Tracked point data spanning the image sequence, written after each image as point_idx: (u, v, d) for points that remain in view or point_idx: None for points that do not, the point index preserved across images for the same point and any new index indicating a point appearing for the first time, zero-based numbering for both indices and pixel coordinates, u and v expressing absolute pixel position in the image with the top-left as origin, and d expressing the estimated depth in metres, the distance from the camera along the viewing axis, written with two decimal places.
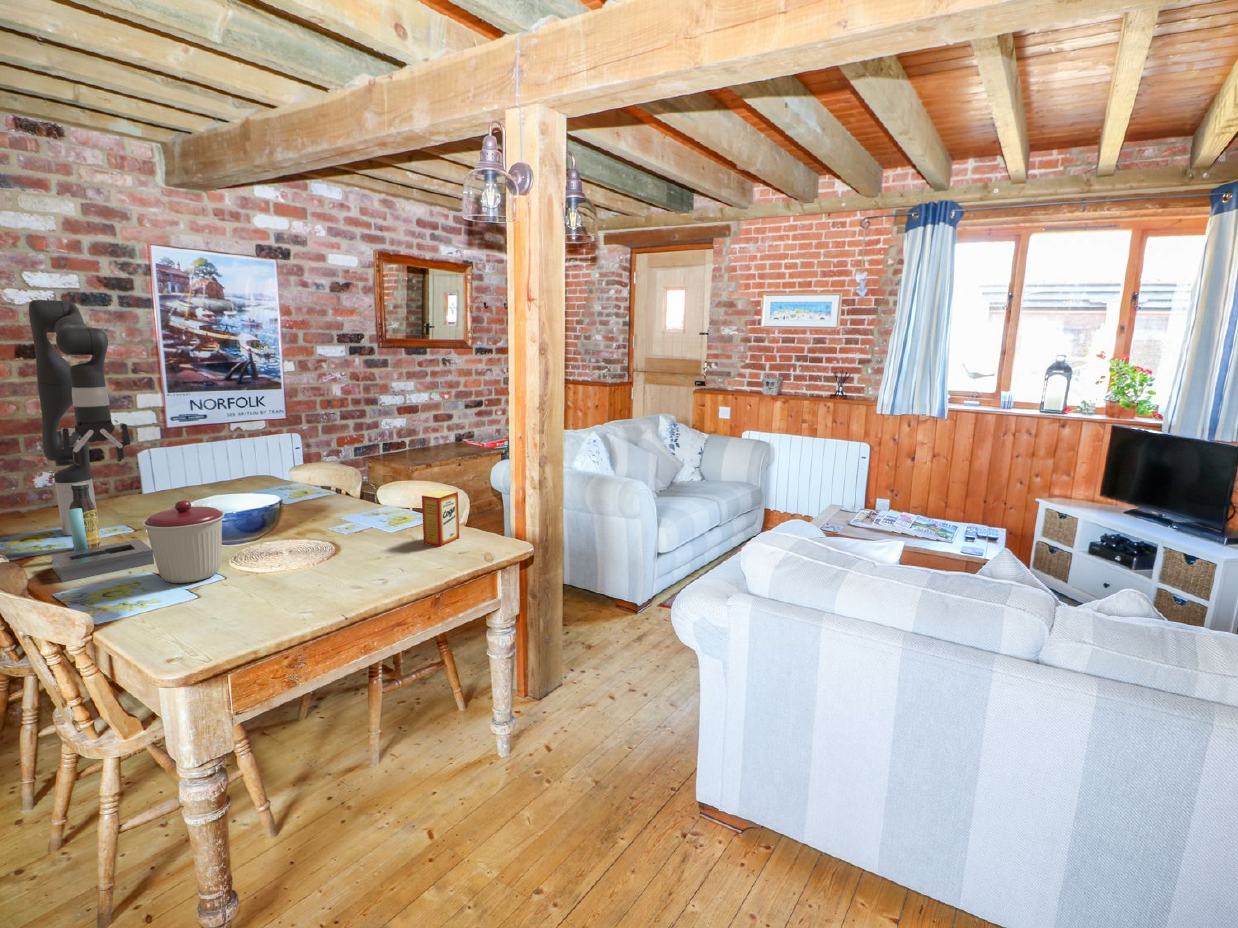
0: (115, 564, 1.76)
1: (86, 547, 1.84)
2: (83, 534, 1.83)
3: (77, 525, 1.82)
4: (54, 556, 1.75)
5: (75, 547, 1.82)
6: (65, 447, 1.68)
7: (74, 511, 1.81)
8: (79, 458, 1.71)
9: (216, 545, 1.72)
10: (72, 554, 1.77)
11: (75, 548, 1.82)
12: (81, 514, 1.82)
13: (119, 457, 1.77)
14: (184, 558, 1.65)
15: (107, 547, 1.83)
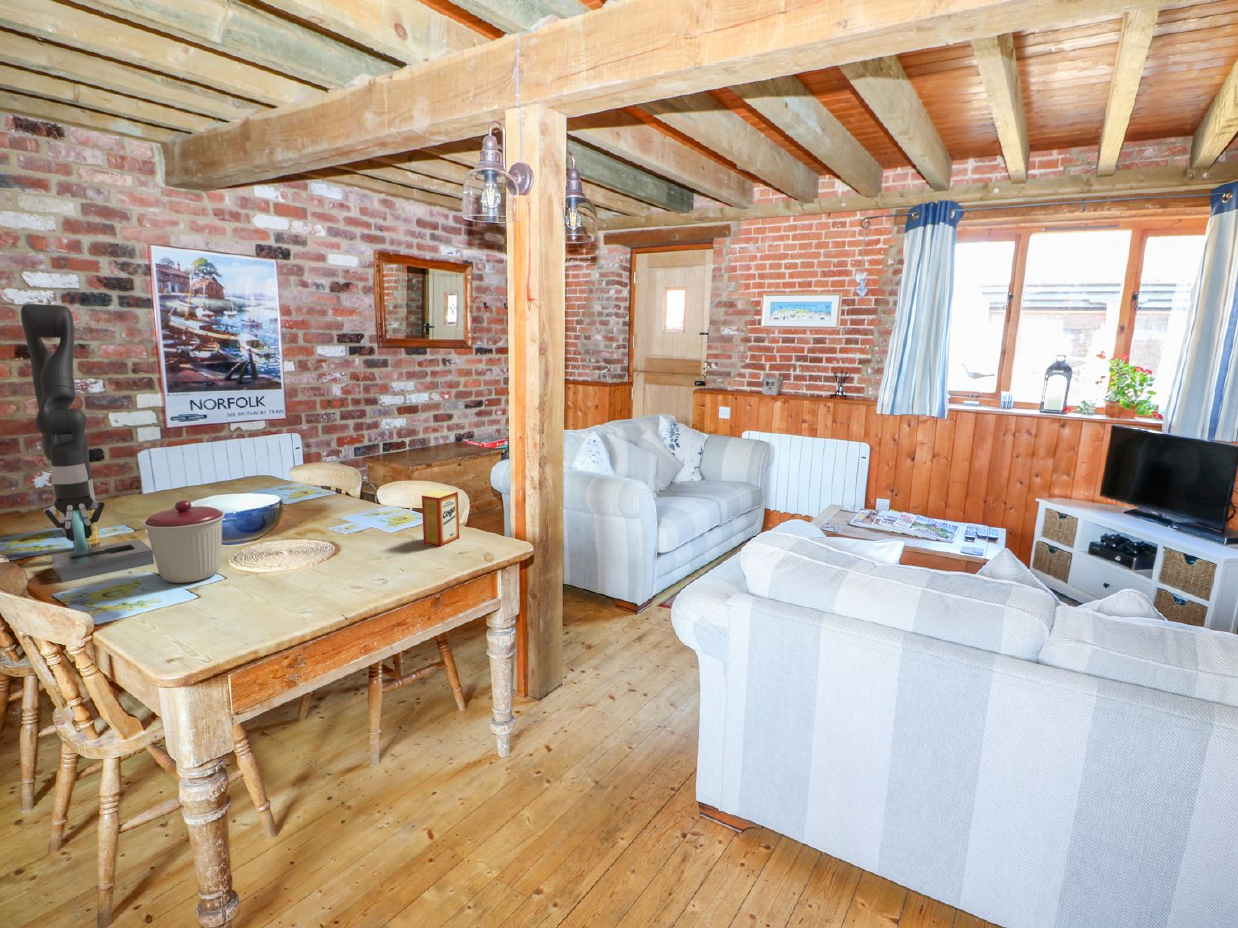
0: (115, 564, 1.76)
1: (86, 547, 1.84)
2: (83, 534, 1.83)
3: (77, 525, 1.82)
4: (54, 556, 1.75)
5: (75, 547, 1.82)
6: (57, 525, 1.78)
7: (74, 511, 1.81)
8: (71, 534, 1.81)
9: (216, 545, 1.72)
10: (72, 554, 1.77)
11: (75, 548, 1.82)
12: (81, 514, 1.82)
13: (87, 534, 1.84)
14: (184, 558, 1.65)
15: (107, 547, 1.83)
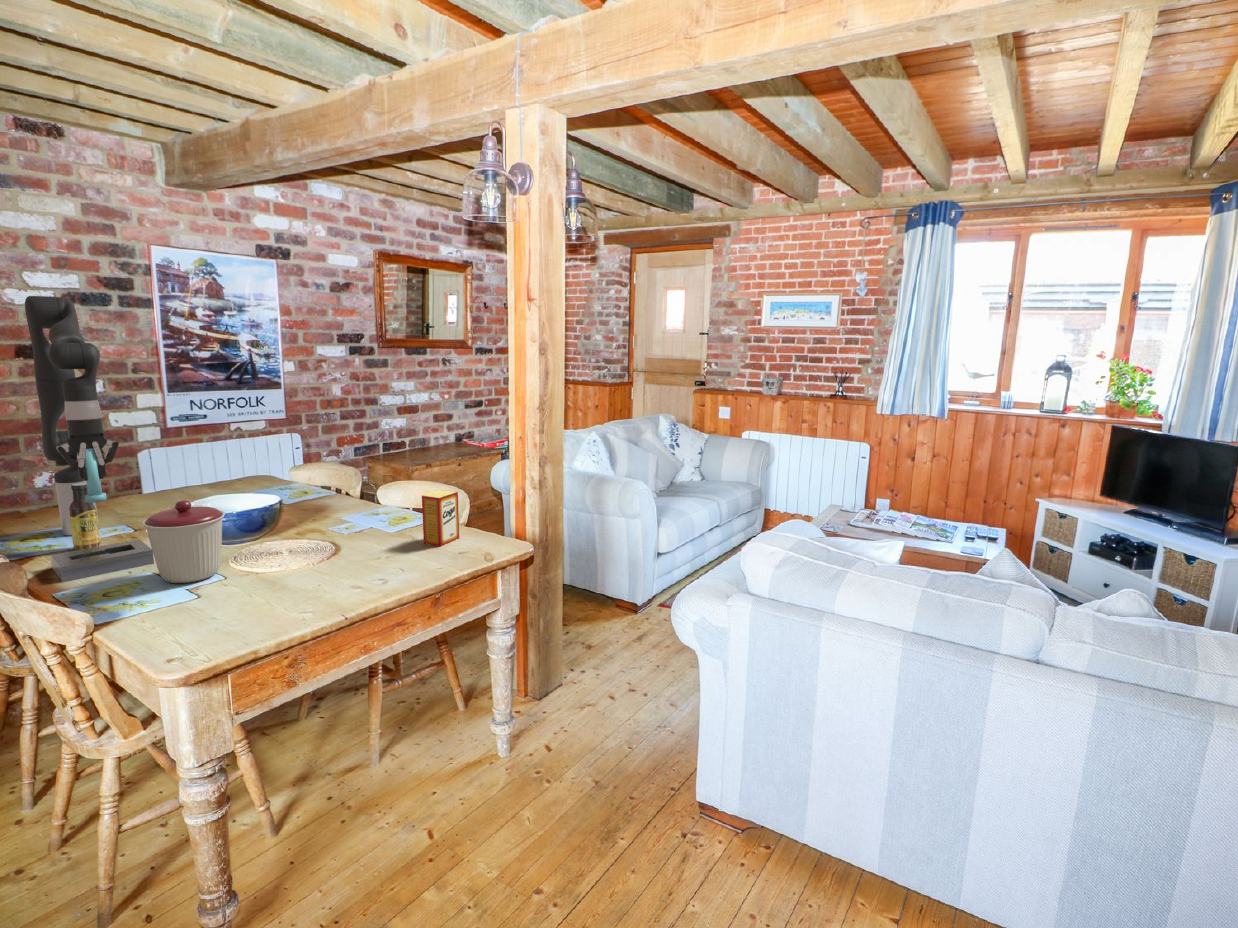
0: (115, 564, 1.76)
1: (100, 488, 1.79)
2: (97, 474, 1.78)
3: (91, 464, 1.76)
4: (54, 556, 1.75)
5: (88, 487, 1.77)
6: (70, 462, 1.73)
7: (87, 449, 1.75)
8: (84, 473, 1.76)
9: (216, 545, 1.72)
10: (72, 554, 1.77)
11: (88, 488, 1.77)
12: None
13: (101, 474, 1.78)
14: (184, 558, 1.65)
15: (107, 547, 1.83)
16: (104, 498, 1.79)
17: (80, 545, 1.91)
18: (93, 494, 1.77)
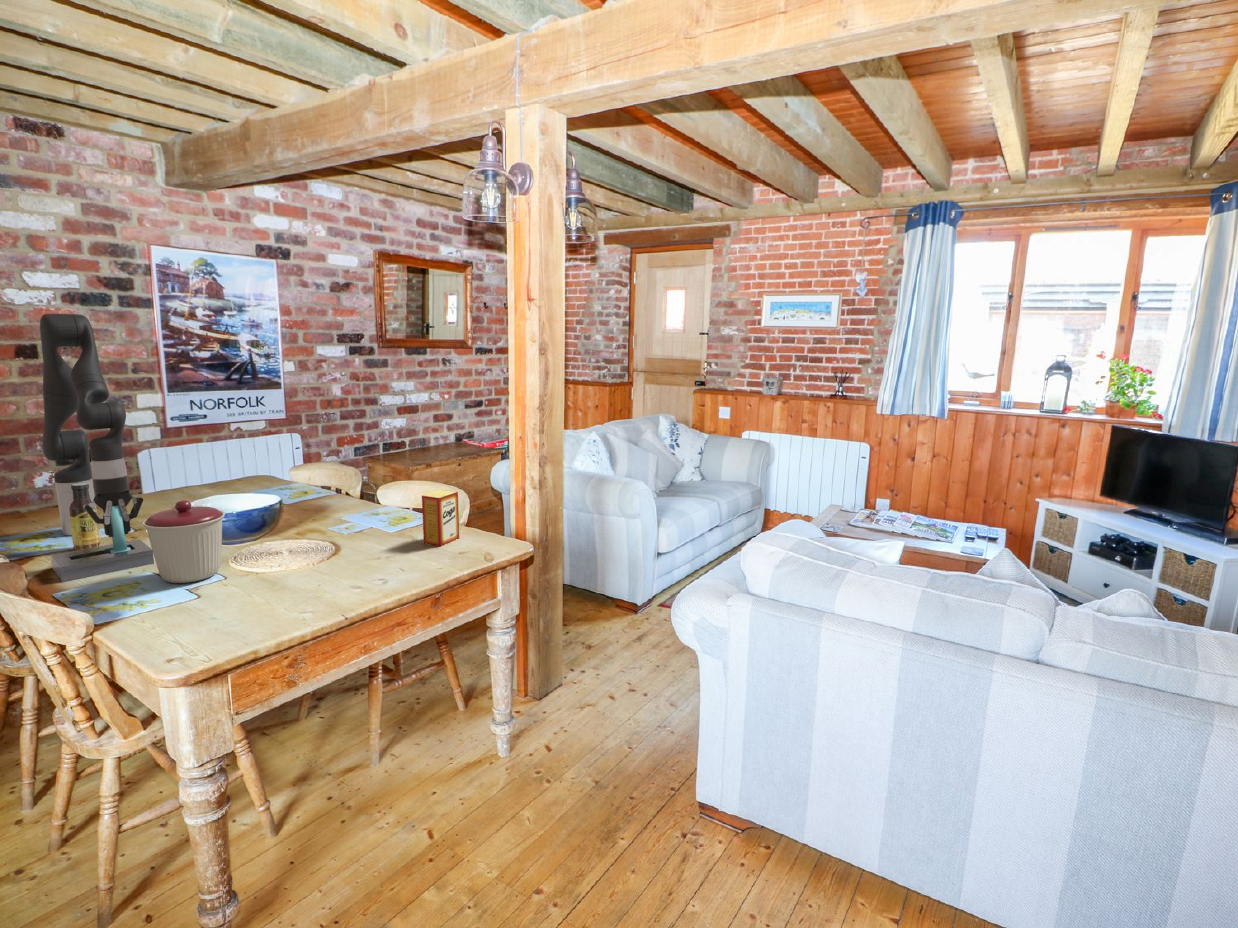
0: (115, 564, 1.76)
1: (125, 543, 1.82)
2: (122, 530, 1.81)
3: (116, 521, 1.79)
4: (54, 556, 1.75)
5: (114, 543, 1.80)
6: (97, 520, 1.76)
7: (113, 507, 1.78)
8: (110, 530, 1.79)
9: (216, 545, 1.72)
10: (72, 554, 1.77)
11: (114, 544, 1.80)
12: (120, 510, 1.80)
13: (126, 530, 1.81)
14: (184, 558, 1.65)
15: (107, 547, 1.83)
16: None
17: (80, 545, 1.91)
18: (119, 550, 1.80)
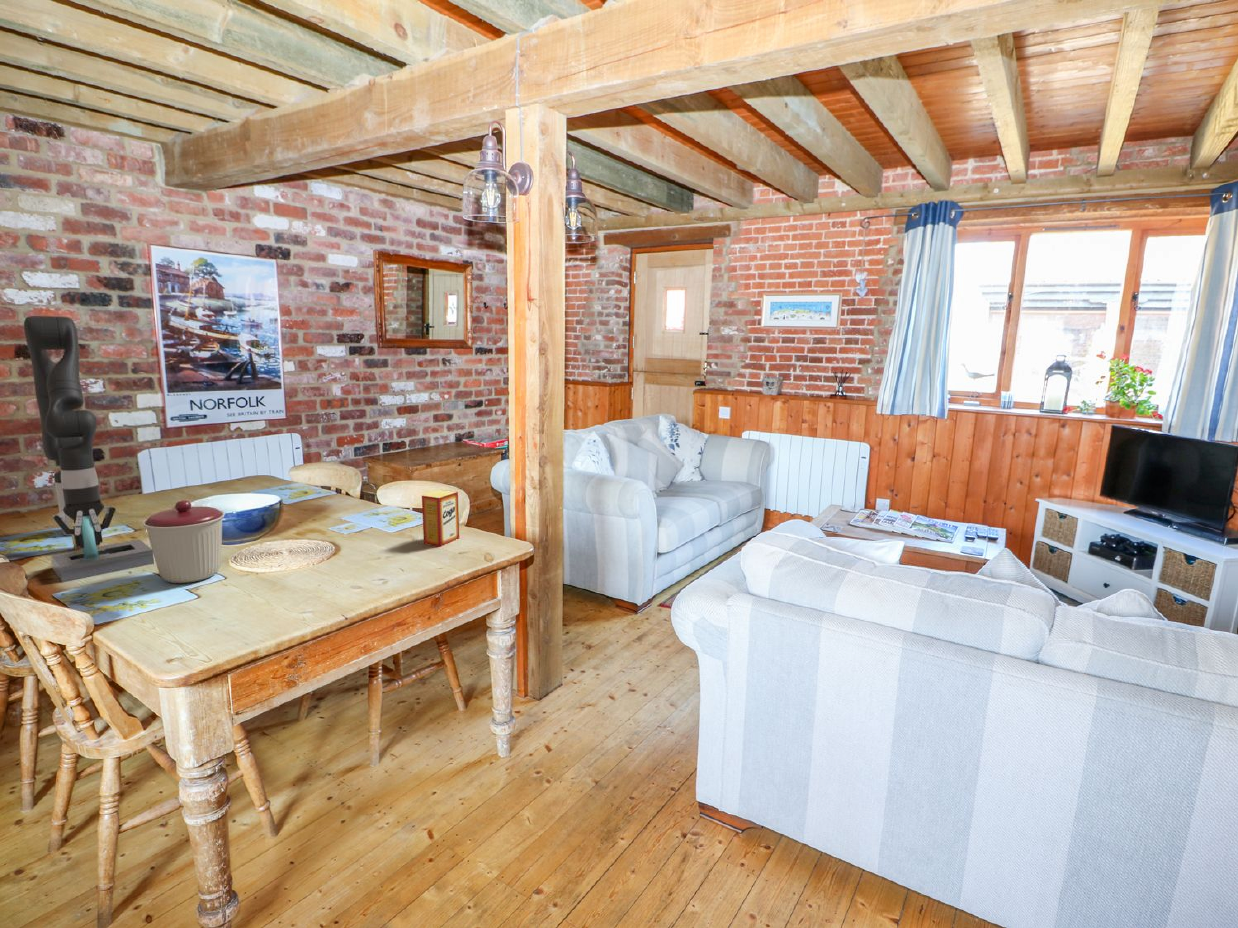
0: (115, 564, 1.76)
1: (96, 554, 1.77)
2: (93, 541, 1.76)
3: (87, 532, 1.75)
4: (54, 556, 1.75)
5: (85, 554, 1.75)
6: (67, 531, 1.72)
7: (84, 517, 1.74)
8: (80, 541, 1.74)
9: (216, 545, 1.72)
10: (72, 554, 1.77)
11: (85, 555, 1.76)
12: (91, 520, 1.75)
13: (97, 541, 1.77)
14: (184, 558, 1.65)
15: (107, 547, 1.83)
16: None
17: None
18: None
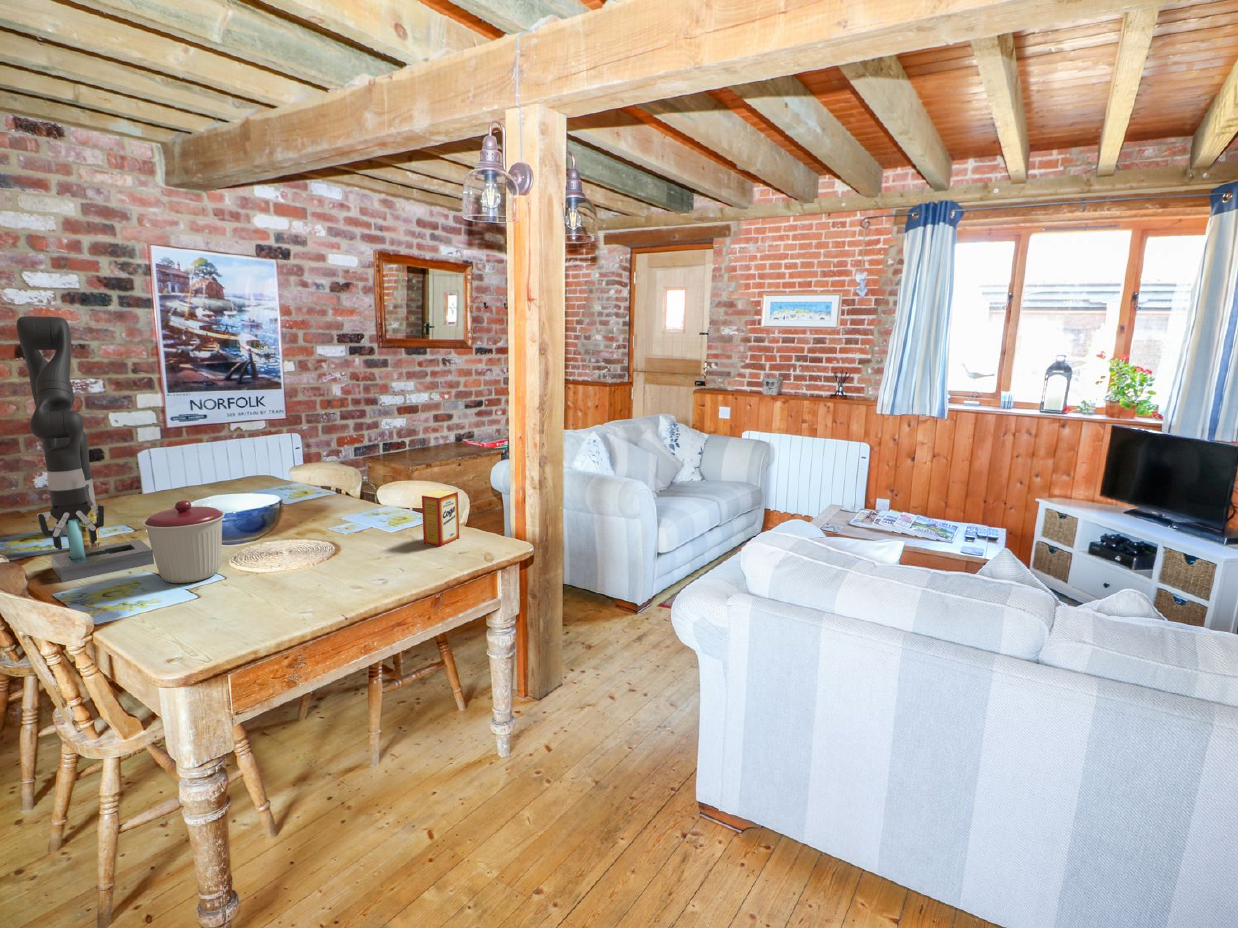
0: (115, 564, 1.76)
1: None
2: (81, 544, 1.74)
3: (74, 535, 1.73)
4: (54, 556, 1.75)
5: (72, 558, 1.74)
6: (45, 532, 1.68)
7: (71, 520, 1.72)
8: (59, 542, 1.71)
9: (216, 545, 1.72)
10: None
11: (72, 559, 1.74)
12: (79, 523, 1.73)
13: (92, 539, 1.76)
14: (184, 558, 1.65)
15: (107, 547, 1.83)
16: None
17: None
18: None
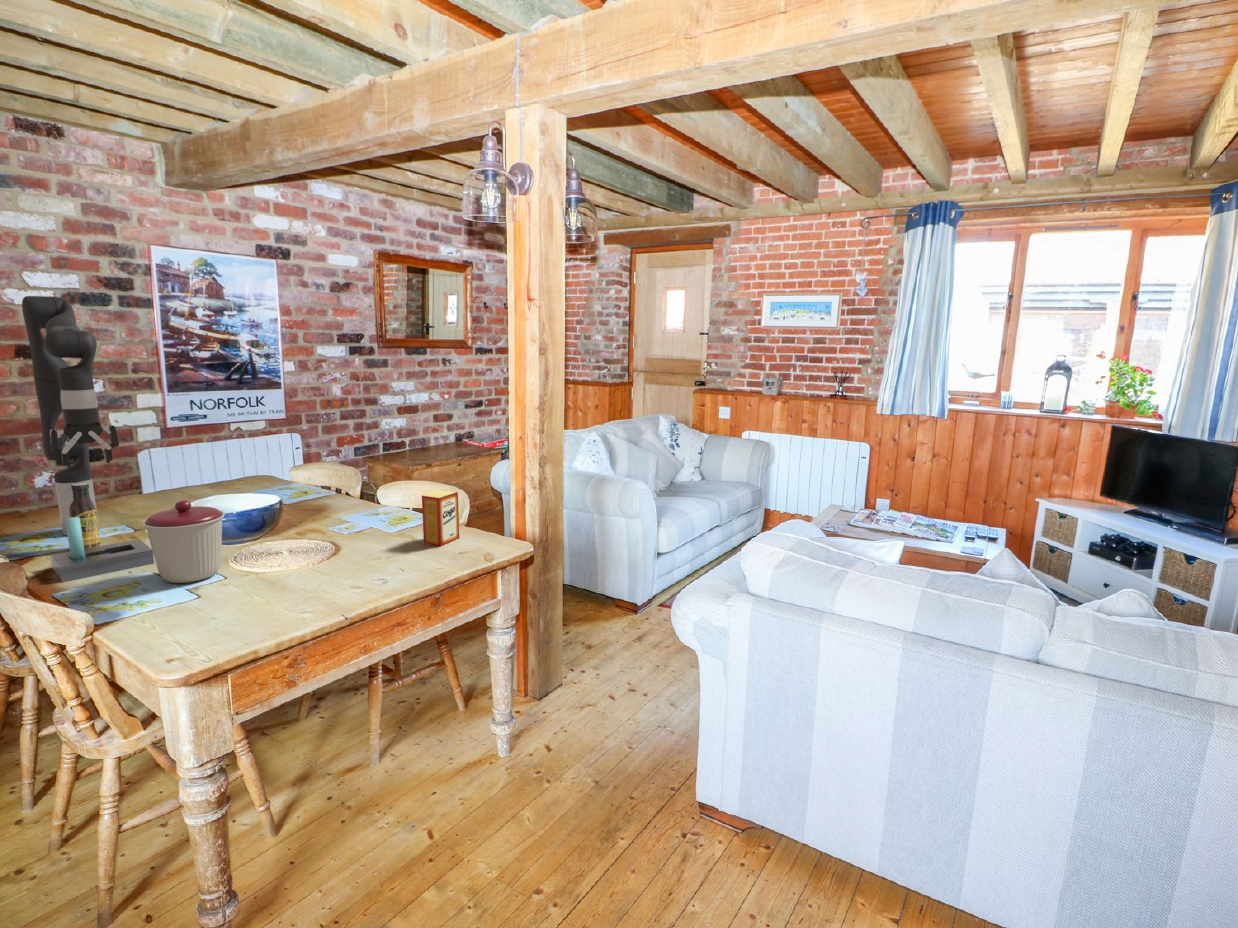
0: (115, 564, 1.76)
1: None
2: (81, 544, 1.74)
3: (75, 535, 1.73)
4: (54, 556, 1.75)
5: (72, 558, 1.74)
6: (53, 449, 1.70)
7: (71, 520, 1.72)
8: (67, 460, 1.73)
9: (216, 545, 1.72)
10: None
11: (72, 559, 1.74)
12: (79, 523, 1.73)
13: (108, 459, 1.79)
14: (184, 558, 1.65)
15: (107, 547, 1.83)
16: None
17: None
18: None
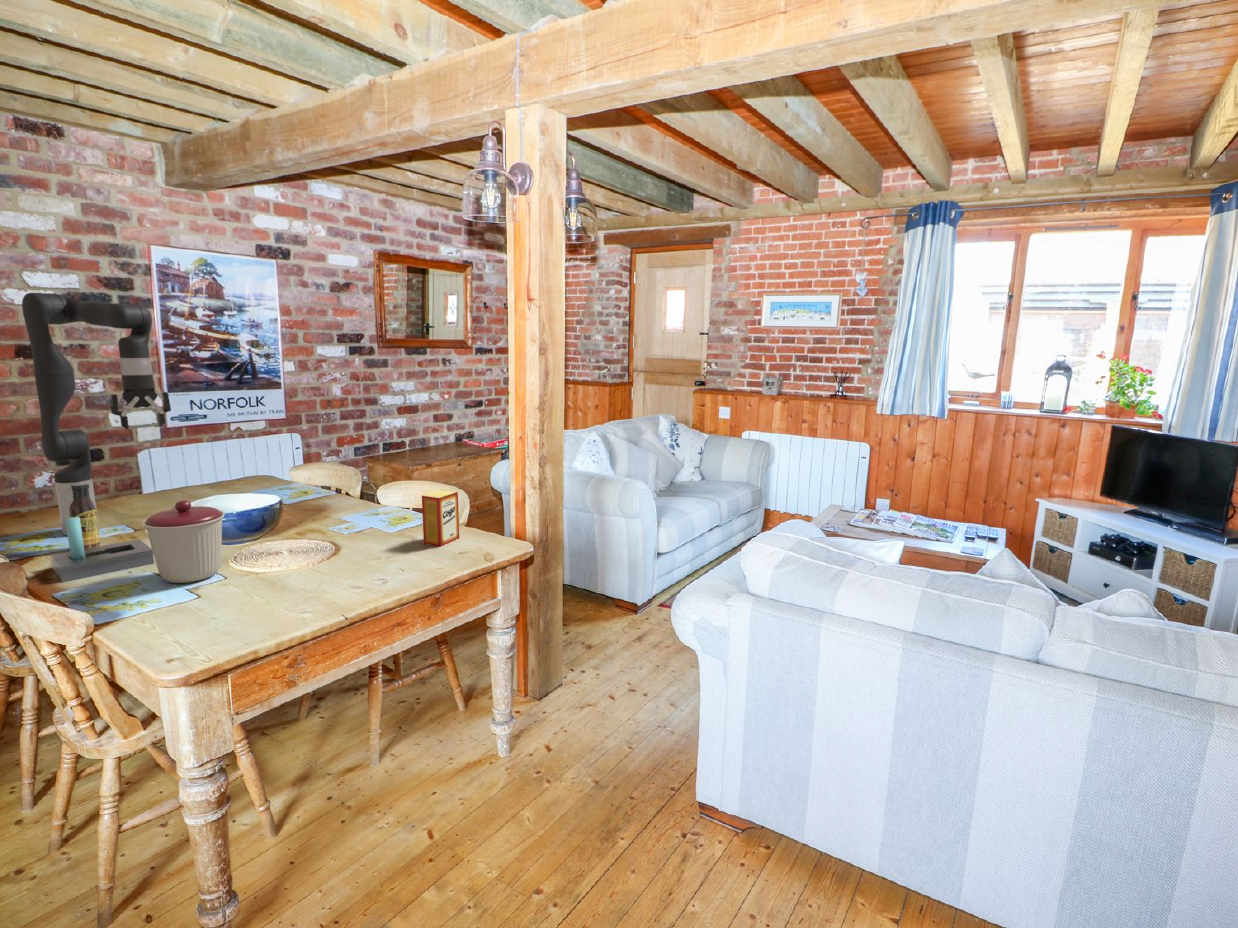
0: (115, 564, 1.76)
1: None
2: (81, 544, 1.74)
3: (75, 535, 1.73)
4: (54, 556, 1.75)
5: (72, 558, 1.74)
6: (114, 411, 1.87)
7: (71, 520, 1.72)
8: (126, 422, 1.89)
9: (216, 545, 1.72)
10: None
11: (72, 559, 1.74)
12: (79, 523, 1.73)
13: (161, 422, 1.96)
14: (184, 558, 1.65)
15: (107, 547, 1.83)
16: None
17: None
18: None
